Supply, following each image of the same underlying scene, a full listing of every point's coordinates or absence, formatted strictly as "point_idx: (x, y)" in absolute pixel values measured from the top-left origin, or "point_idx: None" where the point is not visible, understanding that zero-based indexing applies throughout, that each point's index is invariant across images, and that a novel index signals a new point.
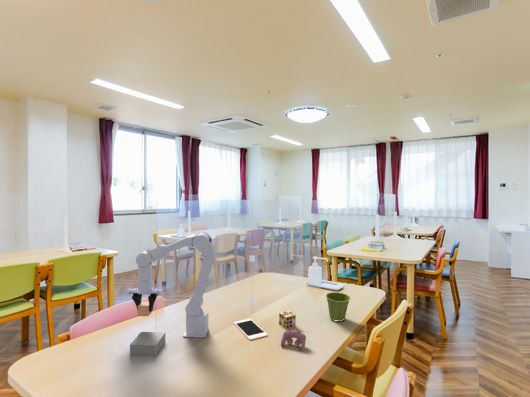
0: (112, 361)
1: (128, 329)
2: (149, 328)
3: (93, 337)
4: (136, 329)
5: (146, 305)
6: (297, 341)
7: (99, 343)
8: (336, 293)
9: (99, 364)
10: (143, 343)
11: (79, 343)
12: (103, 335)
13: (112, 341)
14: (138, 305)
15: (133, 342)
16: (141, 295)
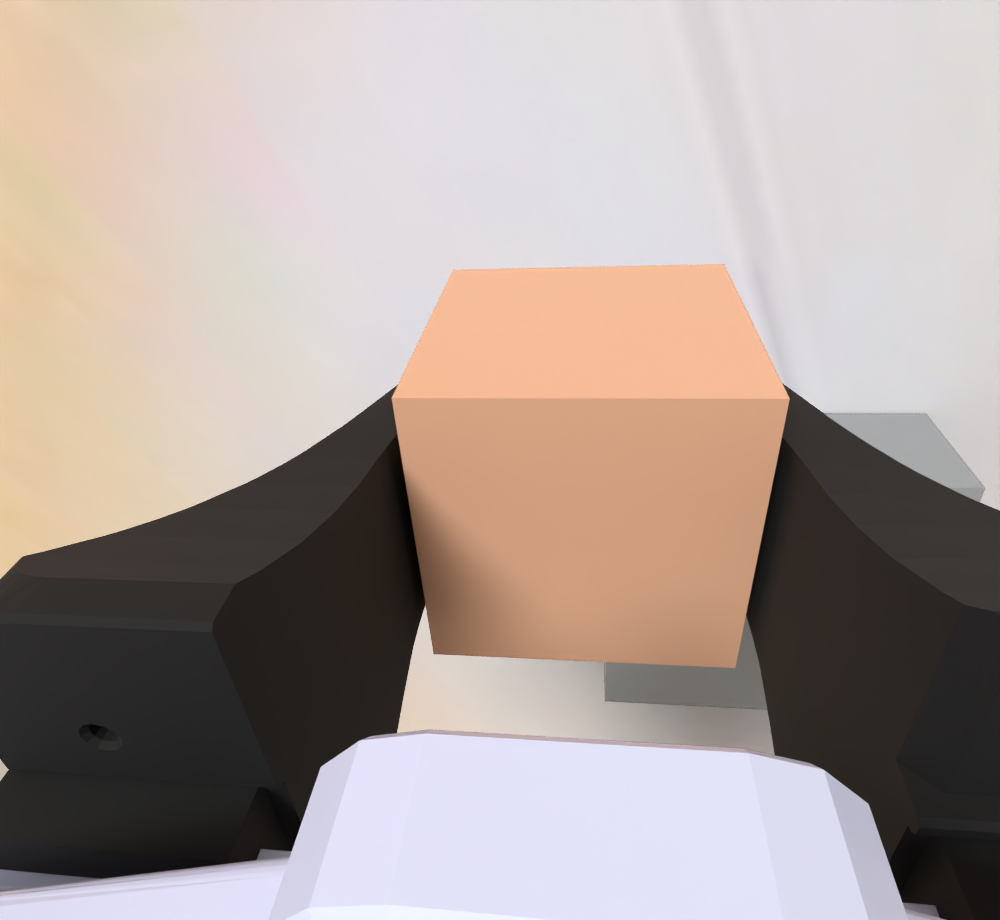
0: (505, 683)
1: (251, 109)
2: (573, 26)
3: (10, 363)
4: (373, 93)
5: (675, 642)
6: None
7: (186, 469)
8: None
9: (433, 706)
10: (741, 688)
11: (4, 475)
12: (71, 312)
13: (283, 429)
14: (451, 648)
15: (624, 674)
16: (300, 586)
